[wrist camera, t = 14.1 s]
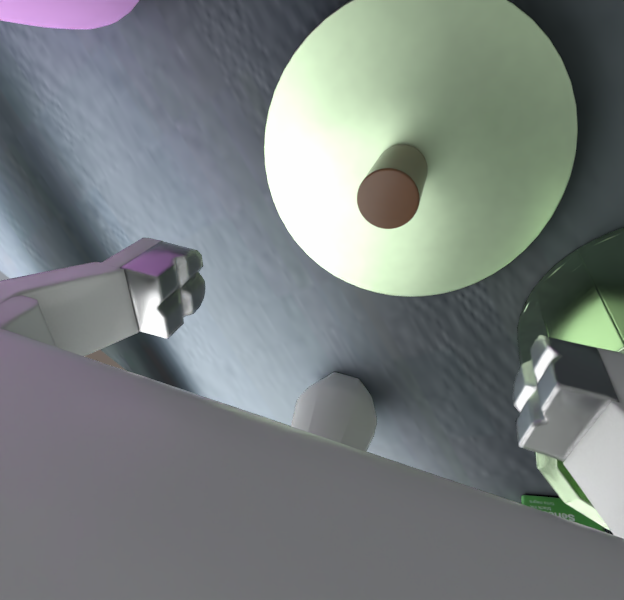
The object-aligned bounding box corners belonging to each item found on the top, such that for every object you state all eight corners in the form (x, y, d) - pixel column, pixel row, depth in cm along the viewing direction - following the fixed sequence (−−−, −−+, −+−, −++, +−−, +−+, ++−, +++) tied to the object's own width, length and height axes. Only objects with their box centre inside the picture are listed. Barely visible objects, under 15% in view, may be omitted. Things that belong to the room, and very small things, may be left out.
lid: (645, -6, 13) (722, -22, 9) (502, 310, 22) (511, 376, 17) (274, -29, 16) (211, -48, 12) (271, 257, 24) (232, 302, 20)
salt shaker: (312, 414, 32) (239, 595, 21) (300, 360, 29) (209, 540, 18) (385, 424, 30) (342, 630, 19) (380, 367, 27) (326, 575, 16)
